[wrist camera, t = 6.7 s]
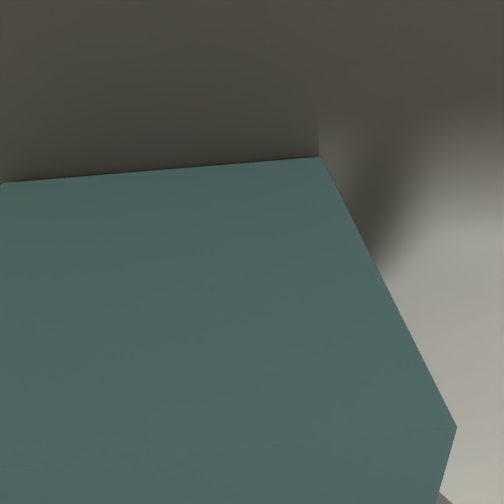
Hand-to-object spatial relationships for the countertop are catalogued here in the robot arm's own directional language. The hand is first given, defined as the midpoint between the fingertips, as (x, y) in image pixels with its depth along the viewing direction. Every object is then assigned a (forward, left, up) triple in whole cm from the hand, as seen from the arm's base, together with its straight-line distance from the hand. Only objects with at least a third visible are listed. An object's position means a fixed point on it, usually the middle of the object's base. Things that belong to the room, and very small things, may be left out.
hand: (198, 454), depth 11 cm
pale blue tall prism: (0, 0, -2) cm, 2 cm away
